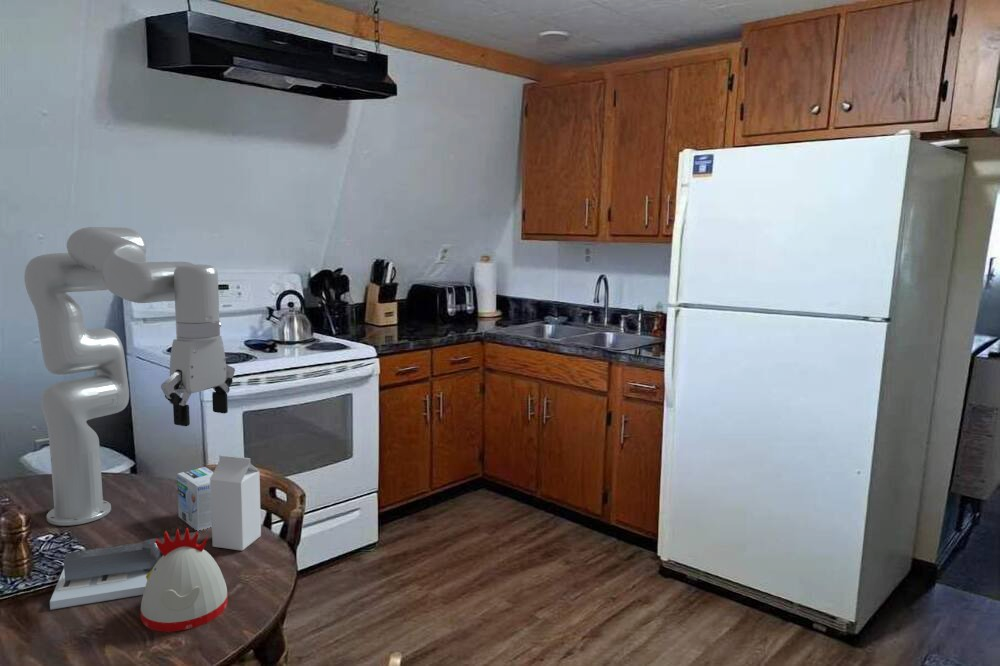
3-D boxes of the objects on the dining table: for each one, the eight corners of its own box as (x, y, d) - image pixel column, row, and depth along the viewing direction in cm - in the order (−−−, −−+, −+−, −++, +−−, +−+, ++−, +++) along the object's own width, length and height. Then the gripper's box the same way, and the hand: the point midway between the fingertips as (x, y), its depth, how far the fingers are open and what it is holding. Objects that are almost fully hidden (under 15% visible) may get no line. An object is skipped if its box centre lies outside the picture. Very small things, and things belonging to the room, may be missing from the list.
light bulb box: (177, 517, 156) (175, 472, 154) (206, 509, 161) (205, 465, 159) (197, 532, 149) (195, 485, 147) (227, 523, 154) (225, 478, 152)
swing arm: (68, 576, 125) (66, 550, 125) (161, 562, 131) (160, 537, 131) (65, 584, 123) (63, 557, 122) (160, 570, 129) (159, 544, 128)
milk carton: (242, 551, 141) (240, 464, 138) (212, 547, 142) (209, 460, 139) (261, 536, 148) (259, 453, 145) (232, 532, 149) (229, 450, 146)
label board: (68, 564, 133) (68, 556, 133) (153, 552, 139) (153, 544, 139) (50, 609, 118) (49, 600, 118) (146, 593, 124) (146, 584, 123)
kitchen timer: (146, 595, 123) (142, 517, 121) (227, 583, 128) (225, 508, 126) (136, 638, 111) (131, 552, 108) (226, 623, 116) (224, 540, 113)
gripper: (216, 323, 136) (219, 406, 139) (144, 335, 120) (149, 427, 123) (246, 326, 134) (248, 410, 136) (177, 338, 118) (181, 433, 120)
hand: (201, 418), depth 130 cm, fingers open, 9 cm apart
